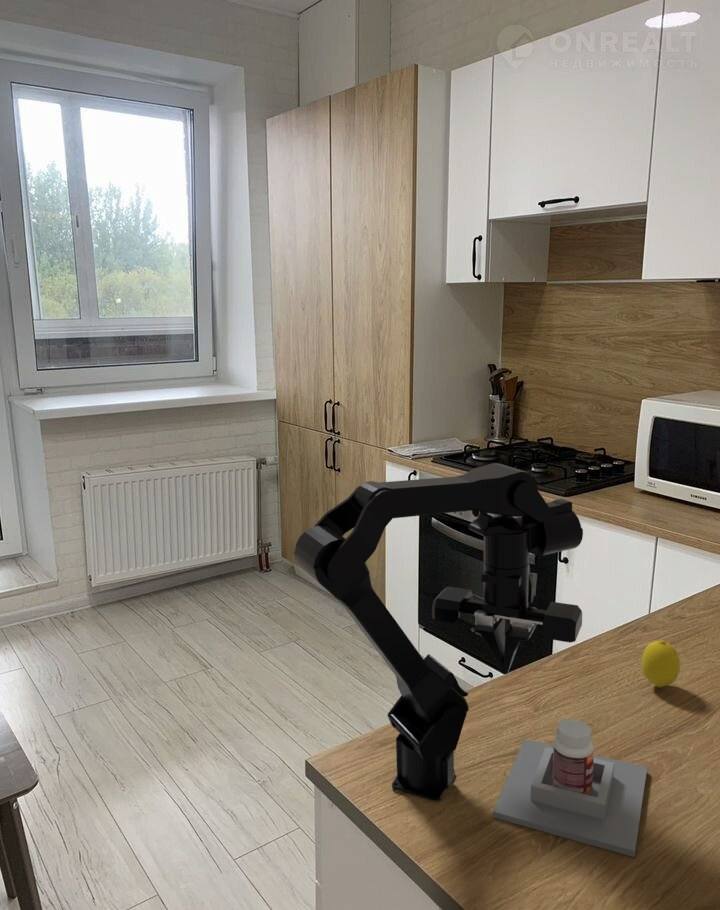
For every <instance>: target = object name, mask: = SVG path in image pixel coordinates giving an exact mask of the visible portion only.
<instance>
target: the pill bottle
mask: <svg viewBox="0 0 720 910" xmlns="http://www.w3.org/2000/svg"><path fill="white" fill-rule="evenodd" d="M556 727H557V728H556V736H555V738H554V740H553V744H552V745H553V748H554V749H553V786H554V787H558V788H562V789H566V790H570V791H574V792H578V793H581V794H585V795H590V794H591V792H592V780H593V755H595V752H594V749H595V748H594V743H593V742H592V741H591V740H592V729H591V726H590V725H589V724H588V723H586V722H584V721H582V720H578V719H571V718H568V719H567V718H566V719H562V720H561V721H559V722H558V723H557V725H556Z"/></svg>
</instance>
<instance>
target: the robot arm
mask: <svg viewBox="0 0 720 910" xmlns="http://www.w3.org/2000/svg"><path fill="white" fill-rule="evenodd" d="M538 489H539V488H538V483H537V481H536V478H535V477H534V475H533V474H532V473H531V472H528V471H525V470H522V469H518V468H516V467H512V466H508V465H505V464H502V463H497V462H493V463H489V464H485V465H482V466H478V467H474V468H472V469H470V470H469V471H468V472H466V473H464V474H461V475H457V476H446V477H434V478H433V477H432V478H423V479H422V478H419V479H408V480H407V479H406V480H396V481H395V480H393V481H392V480H391V481H383V482H382V481H380V482H378V481H374V480H368V481H365V482H363V483H361V484H359V486H357V487H356V488H355V489H354V490H353V492H352V493H351V494H350V495H349V496H348V497H347V498H346V499H344V500H342V501H341V502H340V503H339V504H337V505H336V506H334V507H332V508H331V509H330V510H329V511H327V512H325V513H324V515H323V516H322V517H321V518H320V519H319V520H318V521H317V522H316V523H315V525H314V526H313V527H309V528H308V529H306V530H305V531H304V532H303V533H302V534H301V535H300V536H299V537H298V540H297V541H296V543H295V547H294V552H293V555H294V559H295V561H296V564H297V565H298V567H300V568H301V569H302V570H303V572H304V571H305V573H307V575H309V576H310V577H311V578H313V580H315V581H316V582H317V583H318V584H319V585H320V586H321V587H322V588H324V589H325V590H326V591H327V592H329V594H331V595H332V596H333V597H334V598H335V599H337V600H338V601H339V603H340V604H341V605H342V607H343V608H344V609H345V610H346V612H347V613H348V615H349V616H350V617H351V618H352V620H353V621H354V622H355V624H356V625H357V626H358V628H359V629H360V630H361V632H362V633H363V634H364V636H365V637H366V638H367V639H368V641H369V642H370V644H371V645H372V646H373V648H374V649H375V650H376V651H377V653H378V655H380V657H381V658H382V660H384V662H385V664H386V665H387V666H388V667H389V669H390V670H391V671H392V672H393V674H394V675H395V677H396V684H397V688H398V690H399V691H398V692H399V693H400V697H399V698H398V699H397V701H396V702H395V703H394V705H393V706H392V707H391V709H390V710H389V711H388V712H387V718H388V720H389V723H390V725H391V727H392V728H393V729H395V730H396V731H397V732H398V733H399V734H397V737H395V745H396V746H395V751H396V752H395V755H396V777H395V778H394V780H393V781H392V782H391V788H392V789H393V790H395V791H398V792H402V793H406V794H410V795H413V796H417V797H420V798H424V799H427V800H431V801H433V802H439V801H440V800H441V798H442V797H443V795H444V794H445V791H446V790H448V789H449V787H450V785H451V784H452V782H453V780H454V778H455V758H454V757H455V752H454V751H456V750H457V747H458V745H459V740H460V736H461V733H462V730H463V727H464V724H465V721H466V718H467V714H468V711H470V709H469V708H470V707H469V704H468V701H467V699H466V698H465V697H467V696H468V695H469V693H468V692H467V691H466V690H465V689H463V688H462V687H461V686H460V685H459V682H458V680H457V678H456V676H455V675H454V673H453V671H451V670H449V669H448V668H447V667H445V665H443V664H442V663H441V662H439V661H438V660H437V659H436V658H434V657H433V656H432V655H431V654H429V653H428V654H426V657H424V658H423V656H422V654H420V652H419V651H418V650H417V648H416V647H415V646H414V644H413V642H412V641H411V640H410V638H409V636H407V634H406V633H405V632H404V630H403V629H402V628H401V626H400V624H399V623H398V622H397V621H396V619H395V617H394V616H393V615H392V614H391V612H390V611H389V609H388V608H387V607H386V606H385V604H384V603H383V601H382V599H381V598H380V597H379V596H378V594H377V593H376V592H375V590H374V587H373V583H372V578H371V572H370V570H369V569H368V566H367V564H366V562H367V561H368V560H369V558H371V557H372V555H373V554H374V553H375V551H376V549H377V548H378V545H379V543H380V540H381V538H382V535H383V534H384V532H385V529H386V527H387V526H388V525H389V523H390V522H391V521H392V520H393V519H399V518H400V519H401V518H408V517H409V518H411V517H420V516H432V515H438V514H439V515H441V514H448V513H449V514H450V513H461V512H469V511H473V512H480V514H479V515H478V516H477V518H476V519H474V520H472V522H470V524H469V525H468V529H469V530H470V531H472V532H473V533H476V534H478V535H481V536H483V572H482V573H481V582H482V583H483V600H480V599H475V598H473V594H474V593H473V592H472V590H471V589H467V588H461V587H454V586H446V587H445V588H444V589H442V591H441V592H440V593H439V594H438V595H437V596H436V598H435V599H434V600H432V601H433V602H432V606H431V618H432V619H433V620H434V621H439V622H445V623H450V624H453V623H455V622H456V621H457V620H458V619H460V617H461V613H463V614H467V615H469V614H470V615H473V616H474V617H475V624H474V626H473V632H475V633H477V634H480V636H481V637H482V638H483V641H484V643H486V646H487V647H488V648H489V651H490V652H491V654H492V657H493V659H494V660H495V663H496V665H497V667H498V669H499V671H500V673H501V674H505V675H508V674H509V672H510V669H511V666H512V664H513V661H514V659H515V656H516V653H517V650H518V647H519V645H520V643H521V641H523V642H525V641H529V640H531V639H530V638H531V636H532V635H533V633H534V631H535V629H536V627H537V625H538V626H542V633H543V635H544V636H545V637H546V638H547V639H548V640H551V641H559V642H563V643H570V644H571V643H574V642H576V641H577V638H578V636H579V633H580V631H581V628H582V626H583V611H582V609H581V608H580V606H579V605H577V604H572V603H571V604H570V603H566V602H565V603H562V602H556V601H551V602H550V604H549V605H548V607H547V608H546V609H540V608H537V607H535V606H534V607H533V606H529V604H532V603H533V601H534V597H536V593H537V591H536V590H537V581H538V573H536V572H531V567H530V563H529V561H530V560H529V559H530V553H531V554H532V555H534V556H536V557H537V556H538V557H541V556H546V555H551V554H555V553H559V552H564V551H568V550H573V549H576V548H577V547H579V546H580V545H581V542H582V541H583V537H584V529H583V528H582V526H581V525H582V524H581V521H580V519H579V518H578V517H579V516H578V515H577V514H576V513H575V512H574V511H573V502H572V501H570V500H566V499H564V498H558V499H554V500H551V501H550V502H546V500H545V499H544V497H543V496H542V494H541V493H540V491H539V490H538ZM492 515H496V516H492ZM351 530H352V531H351ZM349 531H351V533H350V534H348V536H347V537H346V538H345V537H344V535H345V534H347V533H348V532H349ZM506 620H507V621H510V622H509V623H510V627H508V629H507V631H506V633H505V627H506Z"/></svg>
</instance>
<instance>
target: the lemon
mask: <svg viewBox="0 0 720 910" xmlns="http://www.w3.org/2000/svg"><path fill="white" fill-rule="evenodd" d="M641 669H642V673H643V675H644V677H645V678H646V679H647V680H648V681H649V682H650V683H651V684H653V685H655V686H656V688H659V689H661V688H663V687H666V686H670V685H672V684H673V683H674V682H676V680H677V678H678V676H679V675H680V670H681V662H680V656H679V653H678V651H677V650H676V648H675V647H674V646H673V644H670V643H669V642H667V641H665V640H664V639H660V640H655V641H652V642H651V643H649V644H647V646H646V647H645V648H644V651H643V653H642V658H641Z"/></svg>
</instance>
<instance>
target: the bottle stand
mask: <svg viewBox="0 0 720 910" xmlns="http://www.w3.org/2000/svg"><path fill="white" fill-rule="evenodd" d="M553 745H554V744H550V743H549V744H548V743H544V742H540V741H536V740H530V739H529V738H523V740H522V743H521V745H520V748H519V750H518V752H517V753H516V756H515V759H514V762H513V763H512V765H511V768H510V771H509V773H508V775H507V777H506V780H505V782H504V784H503V787H502V789H501V791H500V794H499V796H498V798H497V800H496V803H495V805H494V807H493V810H492V818H495V819H497V820H502V821H505V822H508V823H512V824H516V825H519V826H523V827H527V828H530V829H533V830H536V831H540V832H543V833H547V834H550V835H554V836H557V837H561V838H564V839H567V840H571V841H576V842H579V843H583V844H585V845H590V846H593V847H597V848H600V849H604V850H607V851H611V852H615V853H618V854H622V855H625V856H628V857H632V858H635V856H636V849H637V844H638V843H637V842H638V835H639V829H640V822H641V815H642V808H643V802H644V801H643V800H644V795H645V788H646V781H647V774H648V766H645V765H640V764H636V763H631V762H627V761H623V760H618V759H613V758H610V757H605V756H600V755H596V754H594V755H593V780H592V792H591V794H590V795H585V794H581V793H578V792H574V791H570V790H566V789H562V788H558V787H554V786H553V749H554V748H553Z"/></svg>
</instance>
